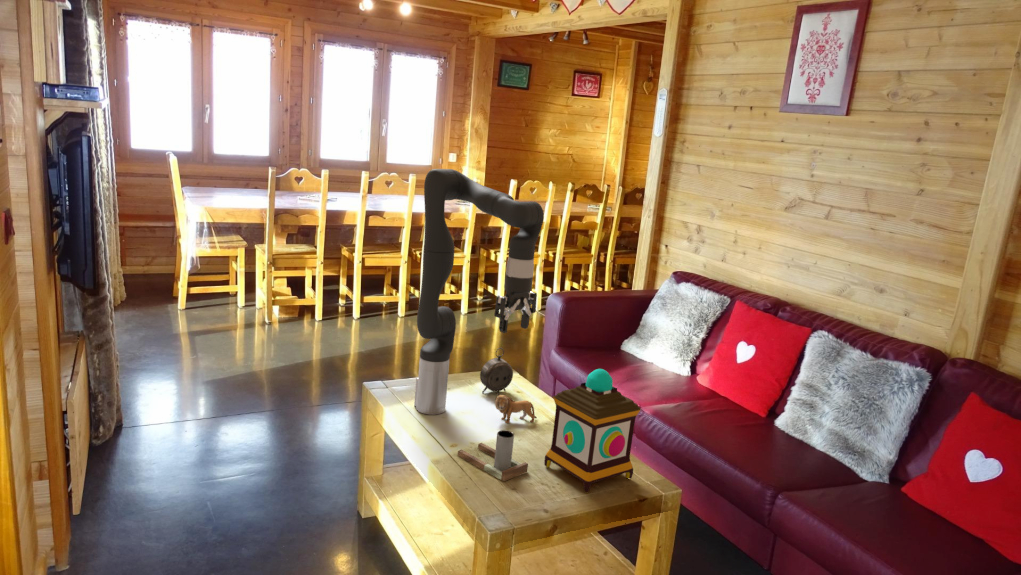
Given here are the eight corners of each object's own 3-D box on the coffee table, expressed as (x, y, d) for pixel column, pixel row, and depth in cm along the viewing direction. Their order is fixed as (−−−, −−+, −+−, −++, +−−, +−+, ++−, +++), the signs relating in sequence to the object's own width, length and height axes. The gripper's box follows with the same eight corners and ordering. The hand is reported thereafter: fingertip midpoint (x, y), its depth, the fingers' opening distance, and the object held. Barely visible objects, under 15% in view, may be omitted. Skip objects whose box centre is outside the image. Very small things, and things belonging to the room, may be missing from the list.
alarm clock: (505, 388, 257) (510, 344, 253) (513, 394, 252) (518, 349, 249) (477, 391, 251) (482, 346, 248) (485, 397, 247) (489, 351, 243)
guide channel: (457, 455, 203) (458, 447, 202) (480, 447, 209) (481, 439, 209) (503, 481, 191) (504, 472, 190) (527, 472, 197) (528, 463, 197)
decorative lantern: (536, 465, 202) (548, 361, 195) (588, 451, 214) (601, 353, 207) (586, 498, 187) (600, 387, 180) (639, 481, 199) (655, 376, 192)
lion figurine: (496, 426, 225) (499, 398, 223) (490, 419, 230) (492, 392, 228) (539, 422, 231) (542, 395, 229) (532, 415, 236) (535, 389, 234)
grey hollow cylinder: (508, 474, 195) (512, 438, 193) (491, 471, 196) (495, 435, 193) (511, 467, 199) (515, 431, 197) (495, 464, 200) (499, 428, 198)
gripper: (527, 269, 210) (521, 323, 214) (491, 273, 200) (486, 330, 204) (546, 274, 205) (540, 330, 209) (511, 278, 195) (505, 337, 199)
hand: (513, 330), depth 206 cm, fingers open, 8 cm apart
